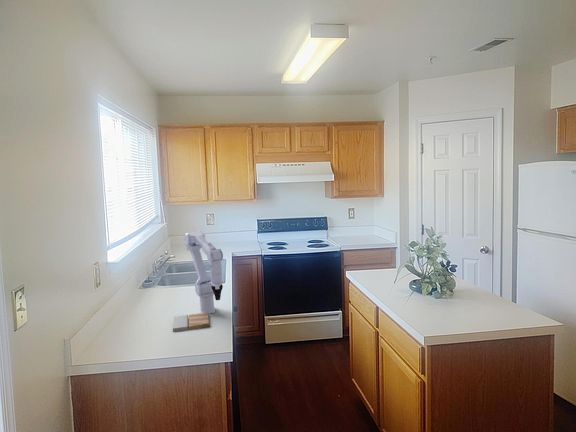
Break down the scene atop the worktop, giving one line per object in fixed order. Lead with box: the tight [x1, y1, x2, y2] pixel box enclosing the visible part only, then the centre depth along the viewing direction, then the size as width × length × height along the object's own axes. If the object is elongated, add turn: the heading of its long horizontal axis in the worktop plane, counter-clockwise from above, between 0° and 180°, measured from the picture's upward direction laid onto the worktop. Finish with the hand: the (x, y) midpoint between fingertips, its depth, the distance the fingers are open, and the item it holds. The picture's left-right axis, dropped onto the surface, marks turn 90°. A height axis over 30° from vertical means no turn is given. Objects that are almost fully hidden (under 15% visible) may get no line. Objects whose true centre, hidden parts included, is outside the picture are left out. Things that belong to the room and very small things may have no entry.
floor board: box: [172, 314, 189, 332], centre depth 211 cm, size 18×7×2 cm, turn 13°
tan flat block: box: [188, 312, 210, 330], centre depth 213 cm, size 18×10×2 cm, turn 13°
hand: (217, 299), depth 217 cm, fingers closed
